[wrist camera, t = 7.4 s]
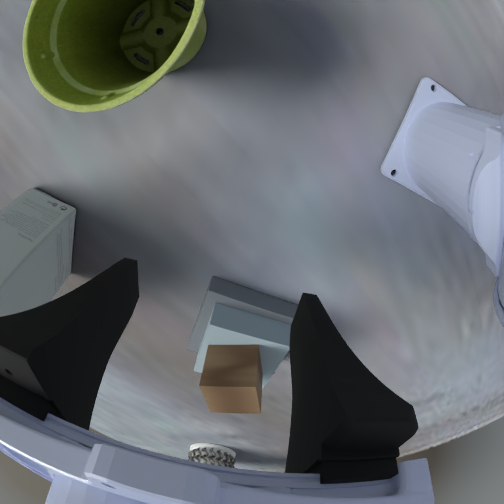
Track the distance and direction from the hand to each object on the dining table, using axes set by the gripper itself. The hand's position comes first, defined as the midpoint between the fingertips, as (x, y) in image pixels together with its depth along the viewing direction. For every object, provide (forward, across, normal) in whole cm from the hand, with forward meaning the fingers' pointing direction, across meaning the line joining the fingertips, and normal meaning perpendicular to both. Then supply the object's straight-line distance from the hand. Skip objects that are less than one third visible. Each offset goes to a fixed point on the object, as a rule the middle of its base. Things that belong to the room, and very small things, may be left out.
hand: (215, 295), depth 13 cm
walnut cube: (+6, -2, +12) cm, 13 cm away
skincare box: (+11, +17, +6) cm, 21 cm away
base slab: (+11, -2, +12) cm, 16 cm away
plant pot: (+11, +7, -11) cm, 17 cm away
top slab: (+8, -2, +12) cm, 15 cm away
